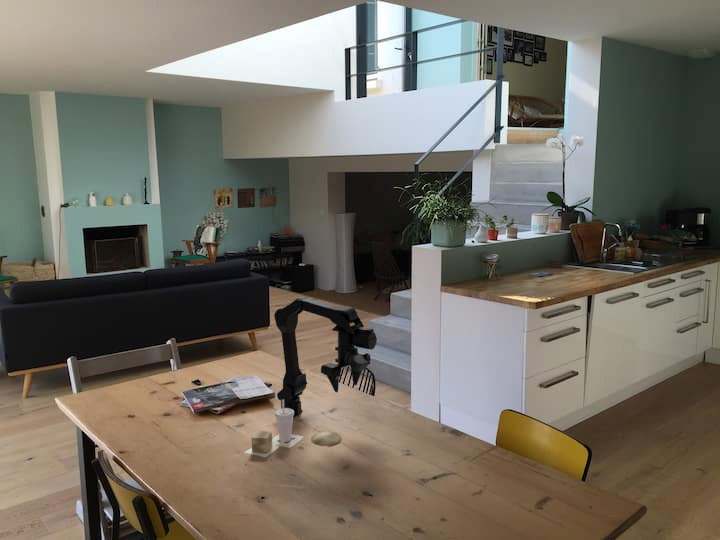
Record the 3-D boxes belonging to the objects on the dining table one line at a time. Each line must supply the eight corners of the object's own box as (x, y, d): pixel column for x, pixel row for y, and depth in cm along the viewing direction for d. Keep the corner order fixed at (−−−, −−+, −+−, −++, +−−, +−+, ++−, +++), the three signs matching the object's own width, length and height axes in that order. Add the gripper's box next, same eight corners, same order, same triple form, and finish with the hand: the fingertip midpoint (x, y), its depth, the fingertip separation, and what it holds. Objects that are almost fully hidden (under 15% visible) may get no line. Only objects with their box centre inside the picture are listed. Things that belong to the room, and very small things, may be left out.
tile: (244, 453, 188) (244, 452, 188) (258, 442, 196) (258, 442, 196) (265, 457, 185) (265, 457, 185) (279, 447, 192) (279, 446, 192)
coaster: (305, 442, 195) (305, 441, 195) (320, 430, 204) (320, 429, 204) (332, 448, 191) (332, 447, 191) (346, 435, 200) (346, 434, 200)
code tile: (266, 443, 195) (266, 442, 195) (281, 432, 203) (281, 431, 203) (290, 448, 191) (290, 447, 191) (304, 437, 199) (304, 436, 199)
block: (252, 452, 188) (251, 437, 188) (257, 445, 193) (256, 430, 192) (267, 453, 188) (266, 438, 187) (272, 446, 192) (271, 431, 192)
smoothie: (271, 441, 196) (270, 400, 194) (282, 433, 201) (281, 394, 199) (287, 445, 193) (286, 404, 191) (298, 437, 199) (297, 397, 196)
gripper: (343, 356, 190) (343, 402, 193) (382, 343, 204) (381, 387, 206) (319, 348, 198) (319, 393, 201) (358, 337, 211) (358, 379, 214)
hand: (345, 388), depth 205 cm, fingers open, 9 cm apart
